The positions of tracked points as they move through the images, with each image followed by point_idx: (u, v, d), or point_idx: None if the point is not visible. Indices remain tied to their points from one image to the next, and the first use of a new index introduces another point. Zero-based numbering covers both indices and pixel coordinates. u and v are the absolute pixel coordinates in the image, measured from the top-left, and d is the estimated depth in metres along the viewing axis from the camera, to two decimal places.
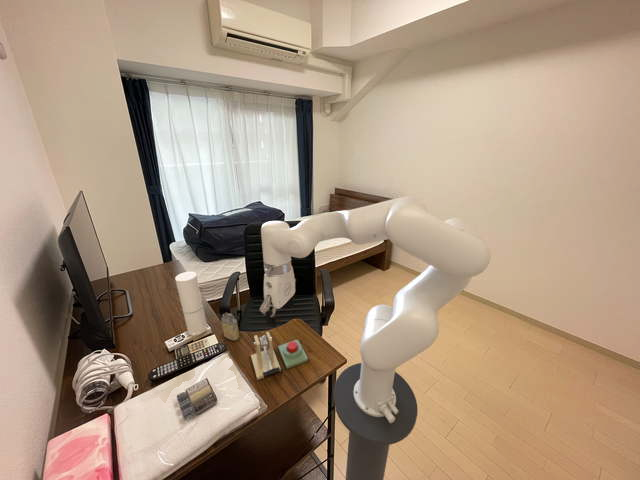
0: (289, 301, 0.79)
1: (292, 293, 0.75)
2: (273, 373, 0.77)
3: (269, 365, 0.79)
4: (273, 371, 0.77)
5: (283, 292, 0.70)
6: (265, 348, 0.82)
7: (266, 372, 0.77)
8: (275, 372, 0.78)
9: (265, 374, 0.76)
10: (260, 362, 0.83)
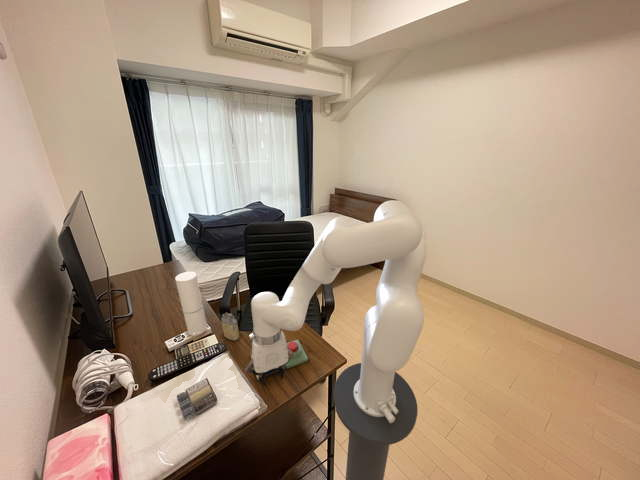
0: None
1: (281, 363, 0.75)
2: (273, 373, 0.77)
3: None
4: (273, 371, 0.77)
5: (264, 360, 0.71)
6: None
7: (266, 372, 0.77)
8: (275, 372, 0.78)
9: (265, 374, 0.76)
10: None
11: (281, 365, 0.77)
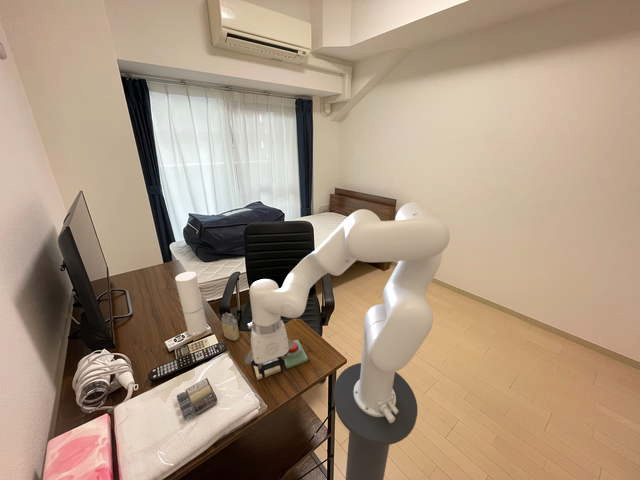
0: None
1: (281, 353, 0.72)
2: (273, 364, 0.75)
3: None
4: (273, 362, 0.75)
5: (264, 350, 0.69)
6: None
7: (265, 363, 0.75)
8: (275, 363, 0.75)
9: (264, 365, 0.74)
10: None
11: (281, 356, 0.74)
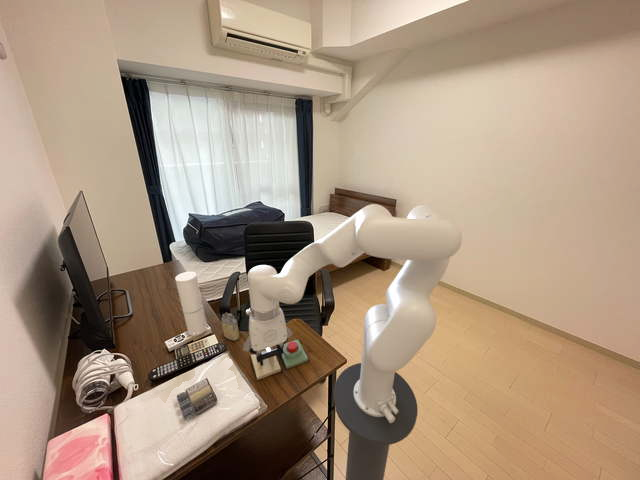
0: None
1: (280, 341, 0.71)
2: (271, 352, 0.74)
3: (267, 349, 0.76)
4: (271, 351, 0.75)
5: (262, 337, 0.68)
6: None
7: None
8: (273, 351, 0.75)
9: (263, 353, 0.74)
10: None
11: (280, 344, 0.74)
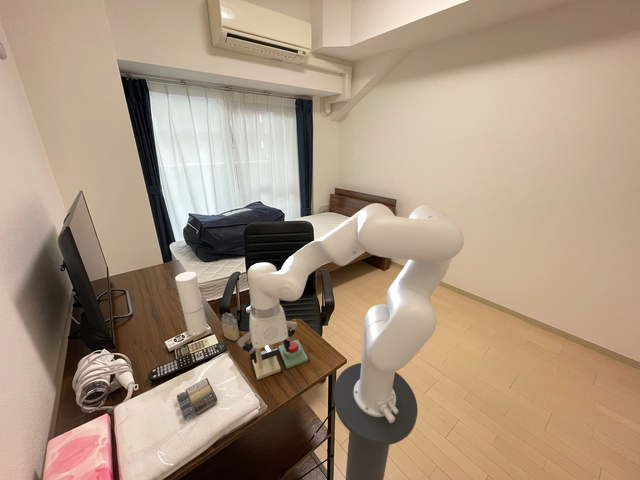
0: (285, 344, 0.76)
1: (280, 339, 0.71)
2: (271, 352, 0.74)
3: (267, 350, 0.76)
4: (271, 351, 0.75)
5: (263, 335, 0.68)
6: None
7: (264, 353, 0.74)
8: (273, 351, 0.75)
9: (263, 354, 0.74)
10: (260, 362, 0.83)
11: (285, 338, 0.74)
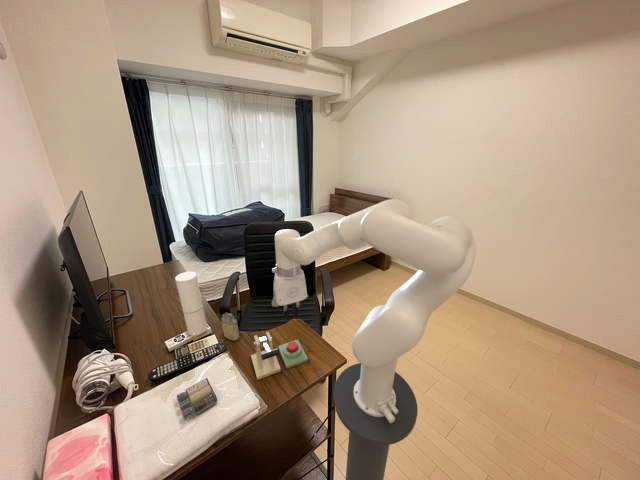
0: (294, 311, 0.84)
1: (300, 298, 0.81)
2: (271, 352, 0.74)
3: (267, 350, 0.76)
4: (271, 351, 0.75)
5: (286, 293, 0.78)
6: (264, 343, 0.82)
7: (264, 353, 0.74)
8: (273, 351, 0.75)
9: (263, 354, 0.74)
10: (260, 362, 0.83)
11: (296, 303, 0.83)
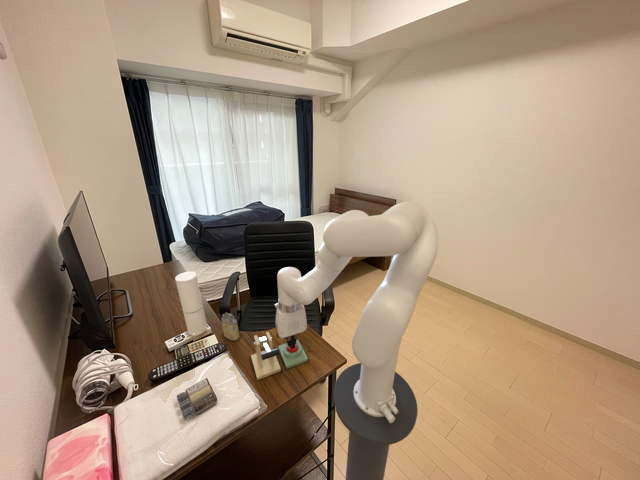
0: None
1: (301, 330, 0.86)
2: (271, 352, 0.74)
3: (267, 350, 0.76)
4: (271, 351, 0.75)
5: (287, 326, 0.83)
6: (264, 343, 0.82)
7: (264, 353, 0.74)
8: (273, 351, 0.75)
9: (263, 354, 0.74)
10: (260, 362, 0.83)
11: (295, 334, 0.87)
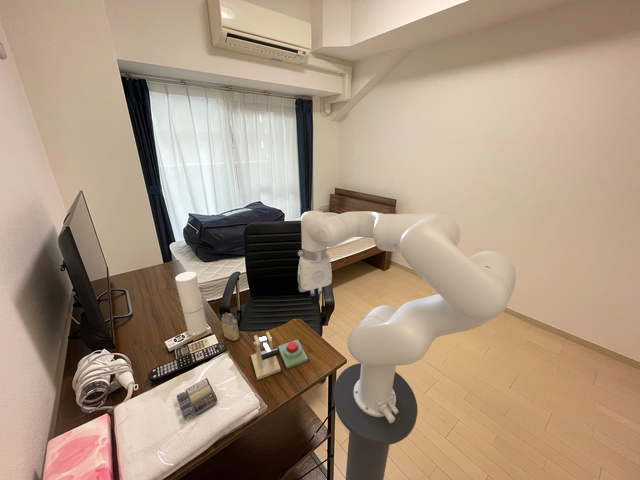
0: None
1: (325, 283, 0.78)
2: (271, 352, 0.74)
3: (267, 350, 0.76)
4: (271, 351, 0.75)
5: (311, 277, 0.75)
6: (264, 343, 0.82)
7: (264, 353, 0.74)
8: (273, 351, 0.75)
9: (263, 354, 0.74)
10: (260, 362, 0.83)
11: (319, 289, 0.80)
